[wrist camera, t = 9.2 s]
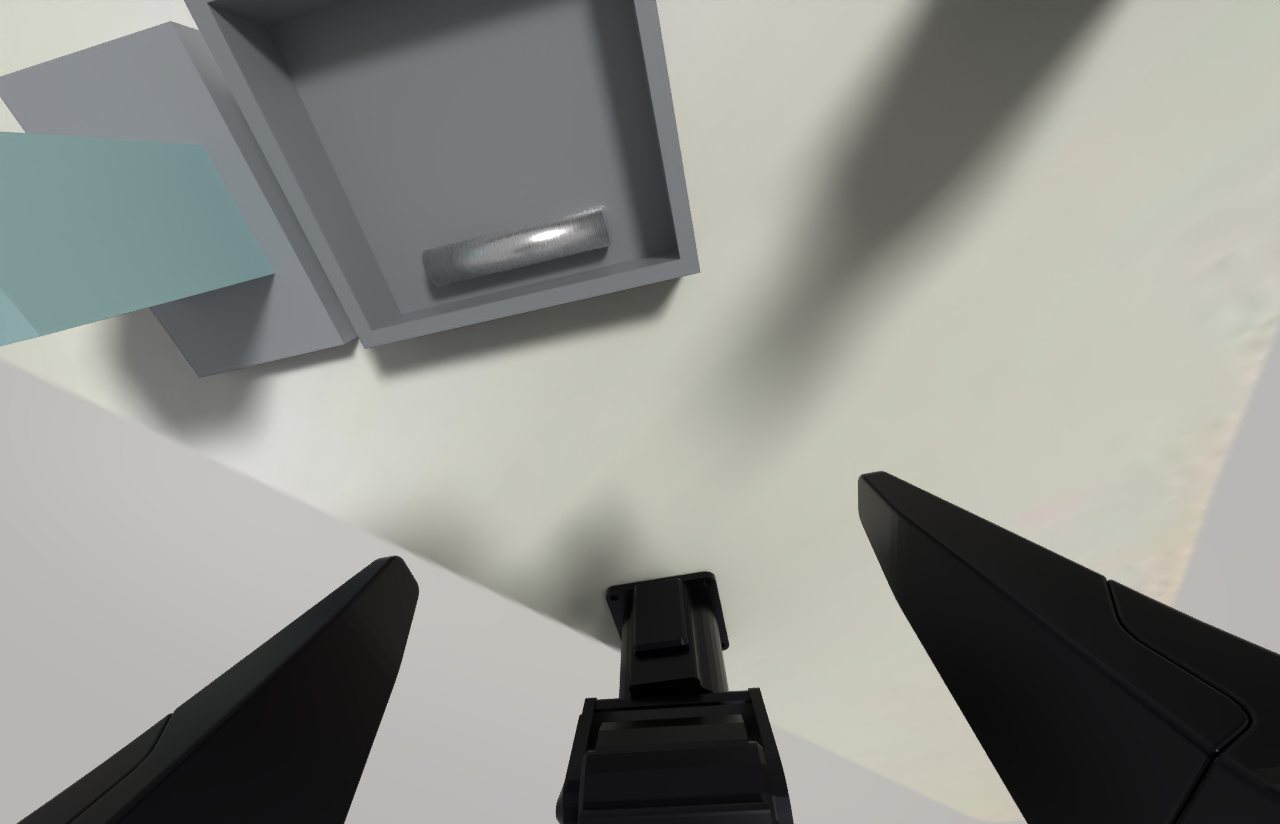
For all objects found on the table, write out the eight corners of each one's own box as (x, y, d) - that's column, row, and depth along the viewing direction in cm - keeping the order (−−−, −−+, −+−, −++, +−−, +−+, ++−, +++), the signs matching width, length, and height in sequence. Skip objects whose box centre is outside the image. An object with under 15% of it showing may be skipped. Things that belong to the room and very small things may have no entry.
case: (692, 258, 19) (700, 272, 16) (401, 326, 20) (364, 348, 18) (623, -152, 14) (618, -230, 11) (236, -24, 15) (150, -66, 13)
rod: (612, 245, 18) (609, 245, 17) (446, 284, 19) (431, 288, 18) (604, 207, 18) (600, 205, 16) (434, 249, 19) (417, 250, 17)
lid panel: (359, 335, 21) (344, 344, 20) (221, 367, 21) (199, 377, 20) (202, 31, 16) (170, 21, 15) (31, 86, 17) (-12, 80, 16)
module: (275, 273, 18) (0, 347, 10) (175, 298, 19) (-160, 386, 11) (202, 145, 16) (-206, 117, 8) (93, 176, 17) (-388, 178, 9)
